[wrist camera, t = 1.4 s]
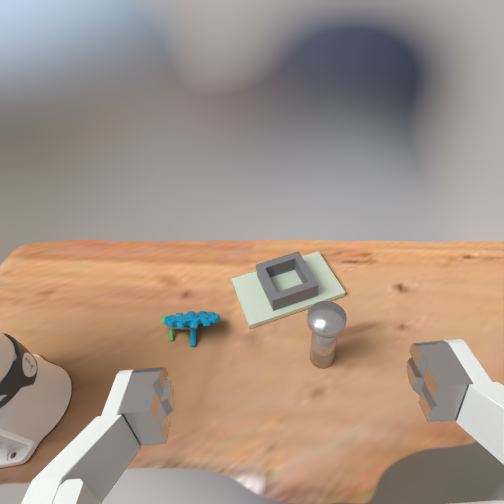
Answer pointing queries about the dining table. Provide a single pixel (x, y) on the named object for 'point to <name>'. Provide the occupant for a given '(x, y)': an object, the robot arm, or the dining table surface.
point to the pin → (325, 331)
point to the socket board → (285, 287)
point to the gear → (189, 322)
